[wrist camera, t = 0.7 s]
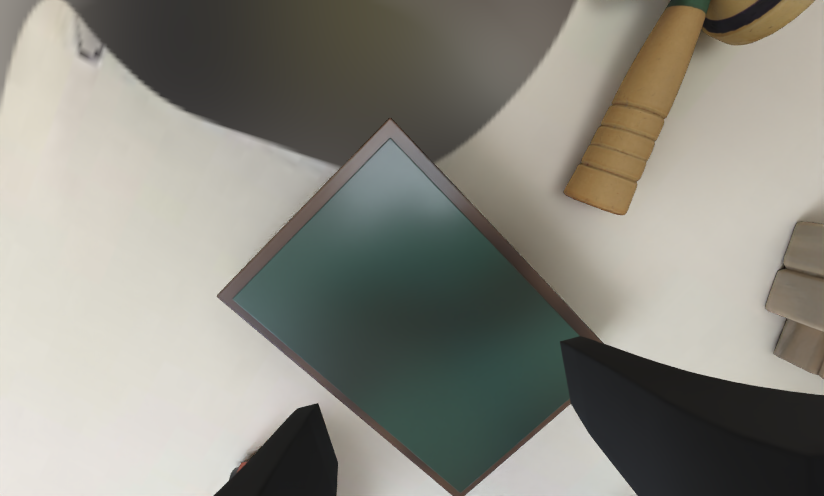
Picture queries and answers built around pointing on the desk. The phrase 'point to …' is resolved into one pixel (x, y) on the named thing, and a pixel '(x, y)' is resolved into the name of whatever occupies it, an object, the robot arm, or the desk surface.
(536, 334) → the green topped wooden block
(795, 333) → the block tower
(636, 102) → the kendama
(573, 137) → the desk surface
